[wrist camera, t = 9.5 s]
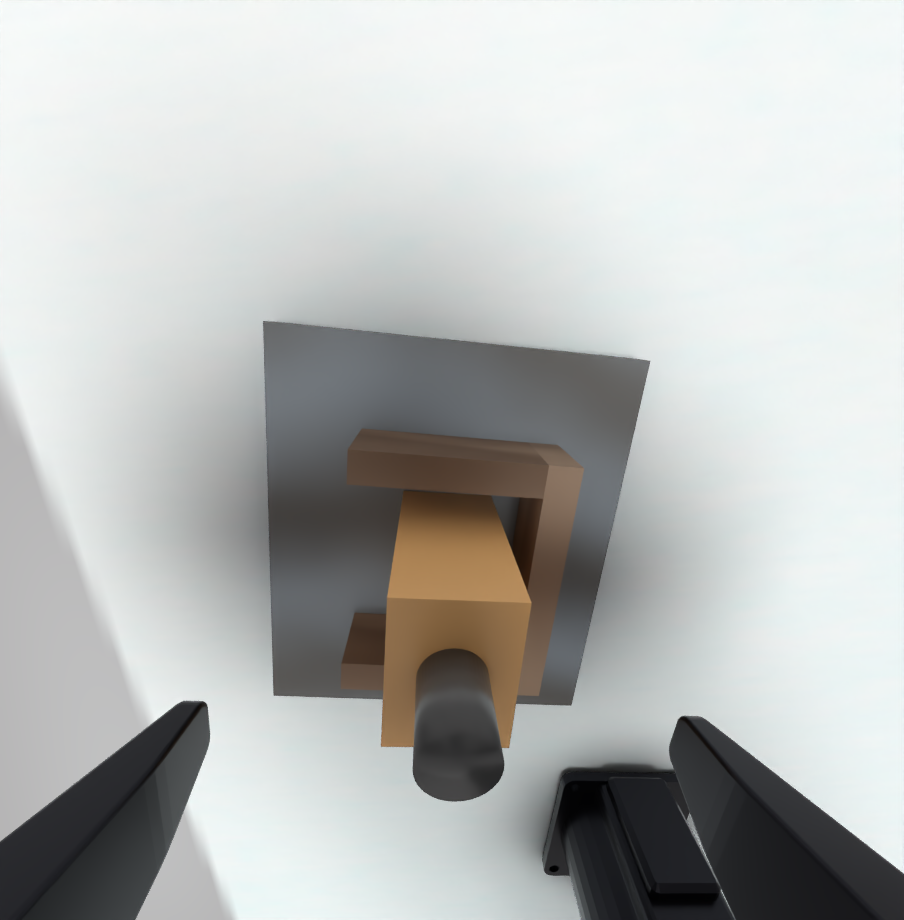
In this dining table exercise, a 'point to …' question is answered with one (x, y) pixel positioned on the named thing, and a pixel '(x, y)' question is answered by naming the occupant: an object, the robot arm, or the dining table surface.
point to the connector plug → (453, 642)
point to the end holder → (434, 487)
